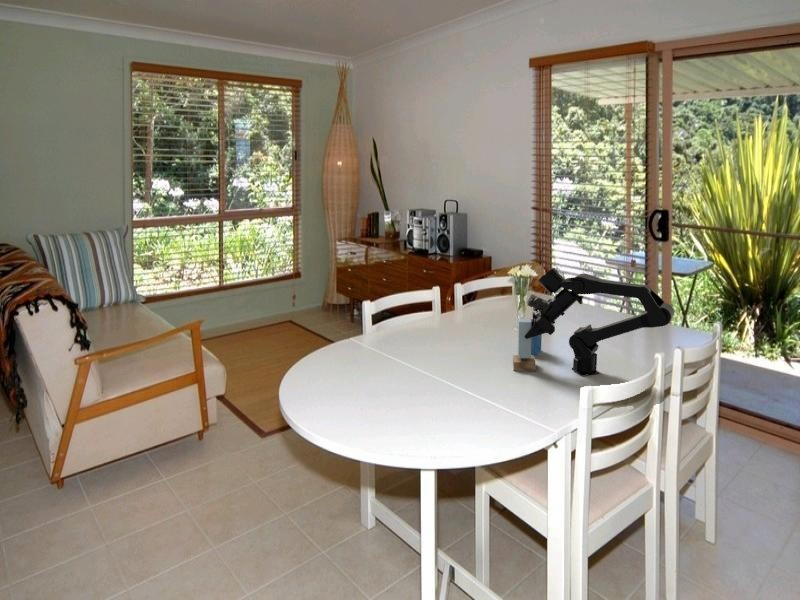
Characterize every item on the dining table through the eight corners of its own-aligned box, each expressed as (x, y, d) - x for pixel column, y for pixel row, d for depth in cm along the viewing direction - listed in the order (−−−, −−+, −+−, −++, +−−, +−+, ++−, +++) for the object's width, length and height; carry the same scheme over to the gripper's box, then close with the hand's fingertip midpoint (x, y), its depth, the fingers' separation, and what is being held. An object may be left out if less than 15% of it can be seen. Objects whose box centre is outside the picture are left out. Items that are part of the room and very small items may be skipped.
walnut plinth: (533, 363, 193) (533, 355, 192) (535, 371, 186) (535, 362, 185) (512, 363, 194) (513, 355, 193) (513, 370, 187) (513, 362, 186)
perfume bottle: (541, 350, 206) (542, 319, 203) (535, 355, 201) (536, 323, 198) (524, 348, 209) (525, 317, 206) (518, 353, 204) (519, 321, 201)
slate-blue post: (530, 354, 190) (530, 318, 188) (530, 358, 187) (531, 322, 184) (518, 354, 191) (518, 318, 188) (518, 358, 187) (518, 322, 184)
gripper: (540, 281, 191) (507, 312, 196) (544, 293, 174) (508, 327, 178) (563, 303, 192) (529, 334, 196) (570, 317, 174) (533, 351, 178)
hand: (524, 335), depth 187 cm, fingers closed on slate-blue post, 4 cm apart
